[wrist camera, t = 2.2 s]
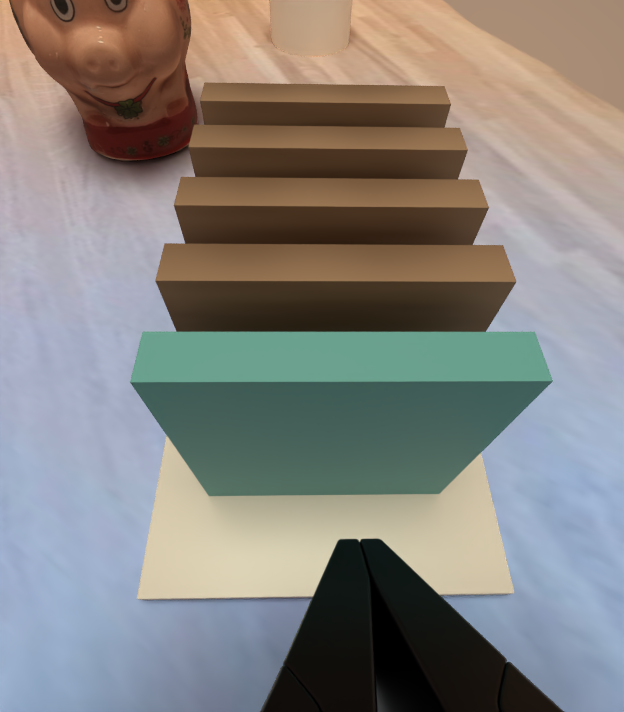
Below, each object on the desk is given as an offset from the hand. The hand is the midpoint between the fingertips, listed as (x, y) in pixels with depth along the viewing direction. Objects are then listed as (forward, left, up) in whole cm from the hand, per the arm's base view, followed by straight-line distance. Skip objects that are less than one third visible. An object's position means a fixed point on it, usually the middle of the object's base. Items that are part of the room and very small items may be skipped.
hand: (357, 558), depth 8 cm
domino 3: (+8, -3, -11) cm, 14 cm away
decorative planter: (+41, +2, -12) cm, 43 cm away
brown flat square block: (+11, -4, -11) cm, 17 cm away
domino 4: (+5, -2, -11) cm, 12 cm away
